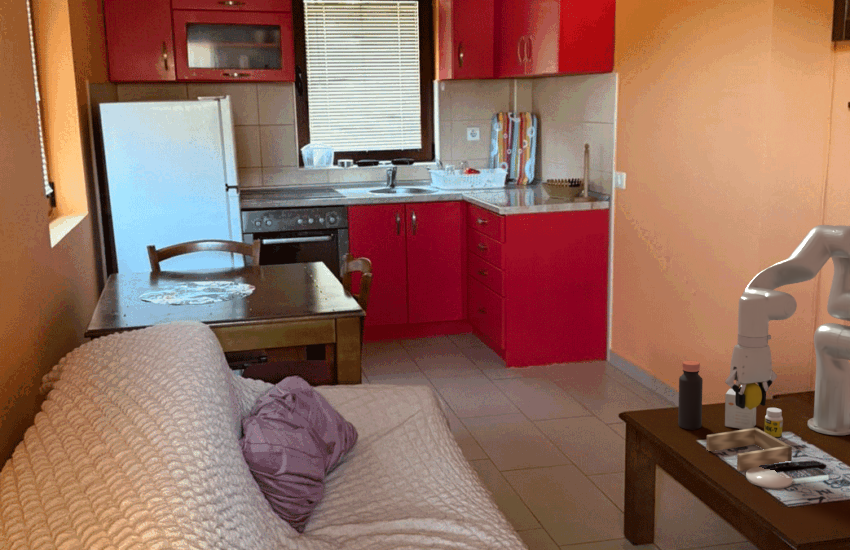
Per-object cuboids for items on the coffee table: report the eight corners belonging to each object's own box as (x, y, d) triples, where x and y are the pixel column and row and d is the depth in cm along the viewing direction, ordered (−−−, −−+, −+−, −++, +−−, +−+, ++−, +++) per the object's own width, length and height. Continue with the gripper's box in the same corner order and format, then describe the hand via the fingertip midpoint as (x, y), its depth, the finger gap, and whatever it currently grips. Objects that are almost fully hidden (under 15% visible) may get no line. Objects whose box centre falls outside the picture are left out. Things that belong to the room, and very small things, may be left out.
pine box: (755, 442, 233) (756, 427, 232) (791, 462, 219) (792, 447, 218) (706, 450, 229) (706, 435, 228) (739, 471, 215) (740, 455, 214)
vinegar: (705, 428, 244) (707, 364, 241) (684, 431, 244) (685, 366, 240) (694, 421, 251) (696, 358, 247) (674, 423, 250) (675, 360, 246)
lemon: (763, 413, 217) (764, 384, 215) (740, 412, 218) (741, 384, 216) (759, 406, 222) (760, 378, 221) (737, 405, 223) (738, 377, 222)
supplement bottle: (761, 437, 236) (762, 410, 235) (767, 433, 240) (768, 405, 238) (778, 441, 233) (779, 413, 231) (784, 436, 236) (785, 409, 235)
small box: (756, 424, 246) (757, 391, 244) (752, 431, 242) (753, 397, 240) (728, 420, 250) (729, 387, 249) (724, 426, 246) (725, 393, 244)
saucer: (773, 467, 216) (773, 464, 216) (802, 484, 206) (802, 481, 206) (737, 473, 214) (737, 470, 213) (764, 491, 203) (764, 487, 203)
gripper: (771, 334, 222) (769, 397, 225) (715, 340, 218) (714, 405, 221) (790, 340, 215) (787, 406, 218) (732, 347, 211) (730, 414, 214)
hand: (750, 404), depth 220 cm, fingers closed on lemon, 5 cm apart
